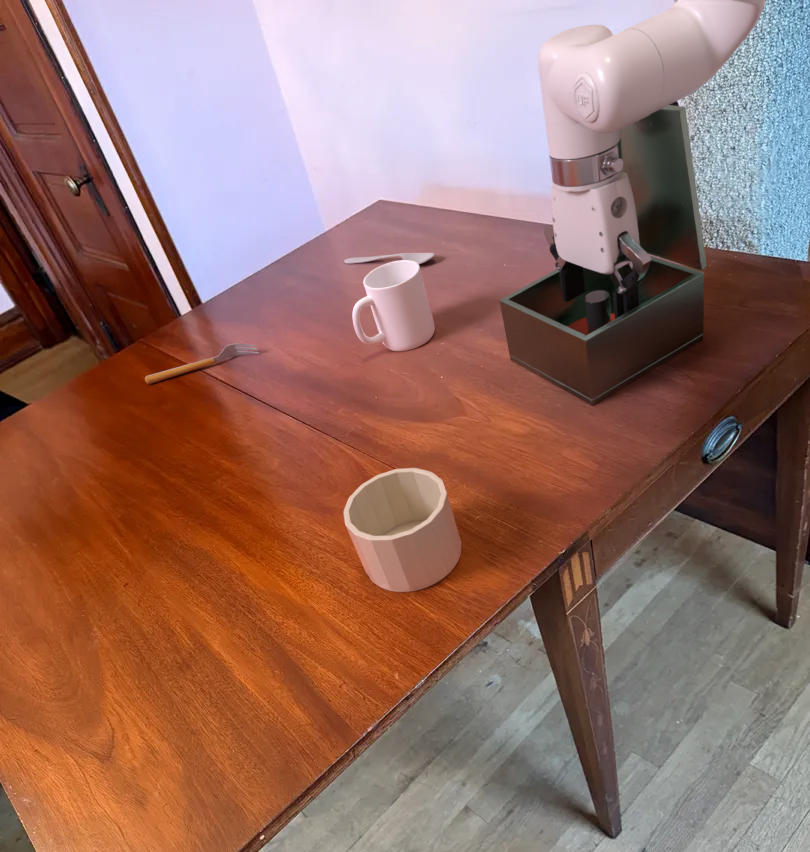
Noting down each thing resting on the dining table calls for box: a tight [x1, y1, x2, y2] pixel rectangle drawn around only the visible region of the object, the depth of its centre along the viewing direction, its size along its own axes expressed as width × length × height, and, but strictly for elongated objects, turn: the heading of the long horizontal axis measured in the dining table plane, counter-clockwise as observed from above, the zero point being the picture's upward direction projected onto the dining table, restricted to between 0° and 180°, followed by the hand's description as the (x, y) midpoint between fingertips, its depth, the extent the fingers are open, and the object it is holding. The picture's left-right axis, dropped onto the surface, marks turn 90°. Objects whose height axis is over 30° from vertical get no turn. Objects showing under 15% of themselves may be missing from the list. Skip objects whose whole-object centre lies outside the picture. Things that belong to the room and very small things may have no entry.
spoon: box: [343, 252, 435, 265], centre depth 134 cm, size 4×21×2 cm, turn 56°
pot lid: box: [567, 290, 615, 335], centre depth 94 cm, size 11×11×7 cm
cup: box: [351, 259, 436, 352], centre depth 109 cm, size 8×12×10 cm
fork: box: [144, 342, 261, 385], centre depth 122 cm, size 2×2×20 cm
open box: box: [499, 255, 705, 406], centre depth 94 cm, size 18×17×9 cm
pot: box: [342, 467, 463, 593], centre depth 76 cm, size 10×10×8 cm
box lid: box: [620, 101, 707, 271], centre depth 86 cm, size 18×17×5 cm
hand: (599, 307), depth 92 cm, fingers open, 9 cm apart
